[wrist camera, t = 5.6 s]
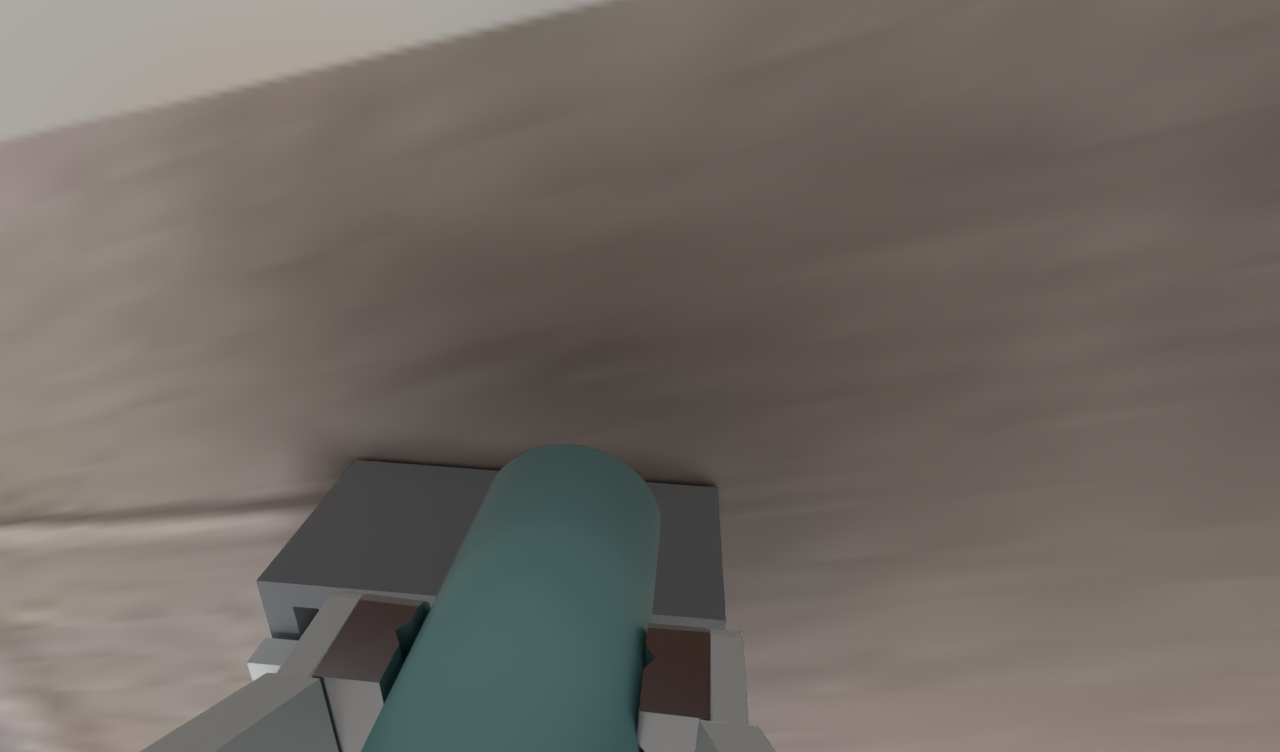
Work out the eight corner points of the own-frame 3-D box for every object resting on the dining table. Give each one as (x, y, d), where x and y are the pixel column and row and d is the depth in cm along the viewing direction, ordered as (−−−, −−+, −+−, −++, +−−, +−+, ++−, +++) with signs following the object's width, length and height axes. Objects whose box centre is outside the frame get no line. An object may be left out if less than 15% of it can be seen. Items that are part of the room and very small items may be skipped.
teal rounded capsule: (665, 453, 13) (630, 799, 7) (656, 592, 14) (621, 969, 8) (480, 436, 13) (294, 761, 7) (492, 576, 14) (349, 931, 9)
